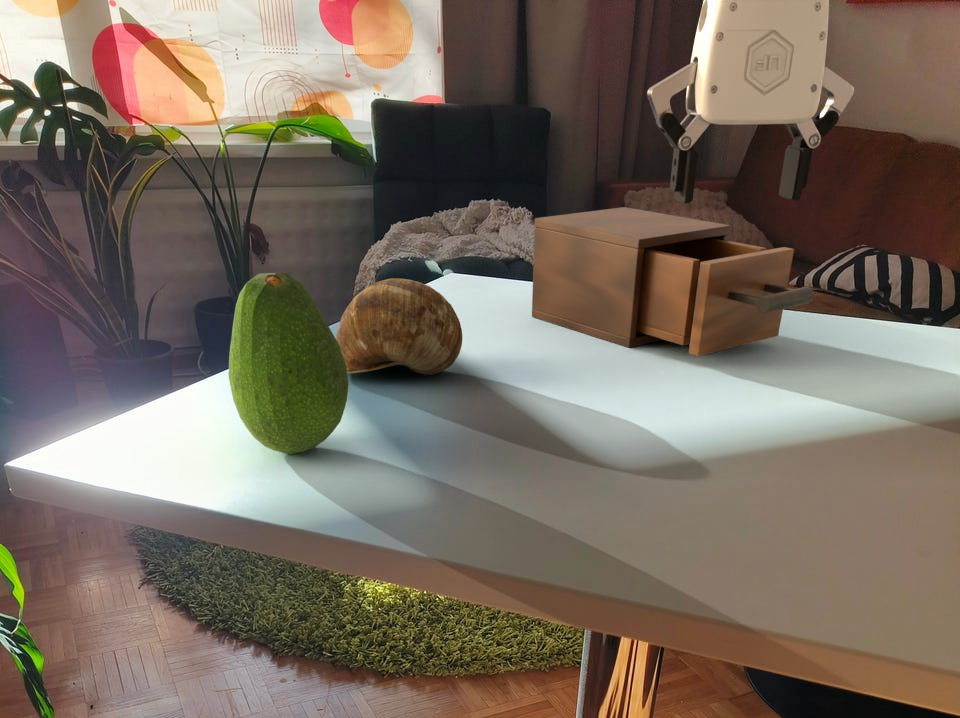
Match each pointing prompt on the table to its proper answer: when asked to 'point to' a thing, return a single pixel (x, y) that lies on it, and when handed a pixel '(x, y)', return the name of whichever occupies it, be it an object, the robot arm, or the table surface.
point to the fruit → (285, 365)
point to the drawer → (715, 293)
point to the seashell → (399, 328)
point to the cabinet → (602, 267)
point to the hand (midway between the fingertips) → (736, 199)
